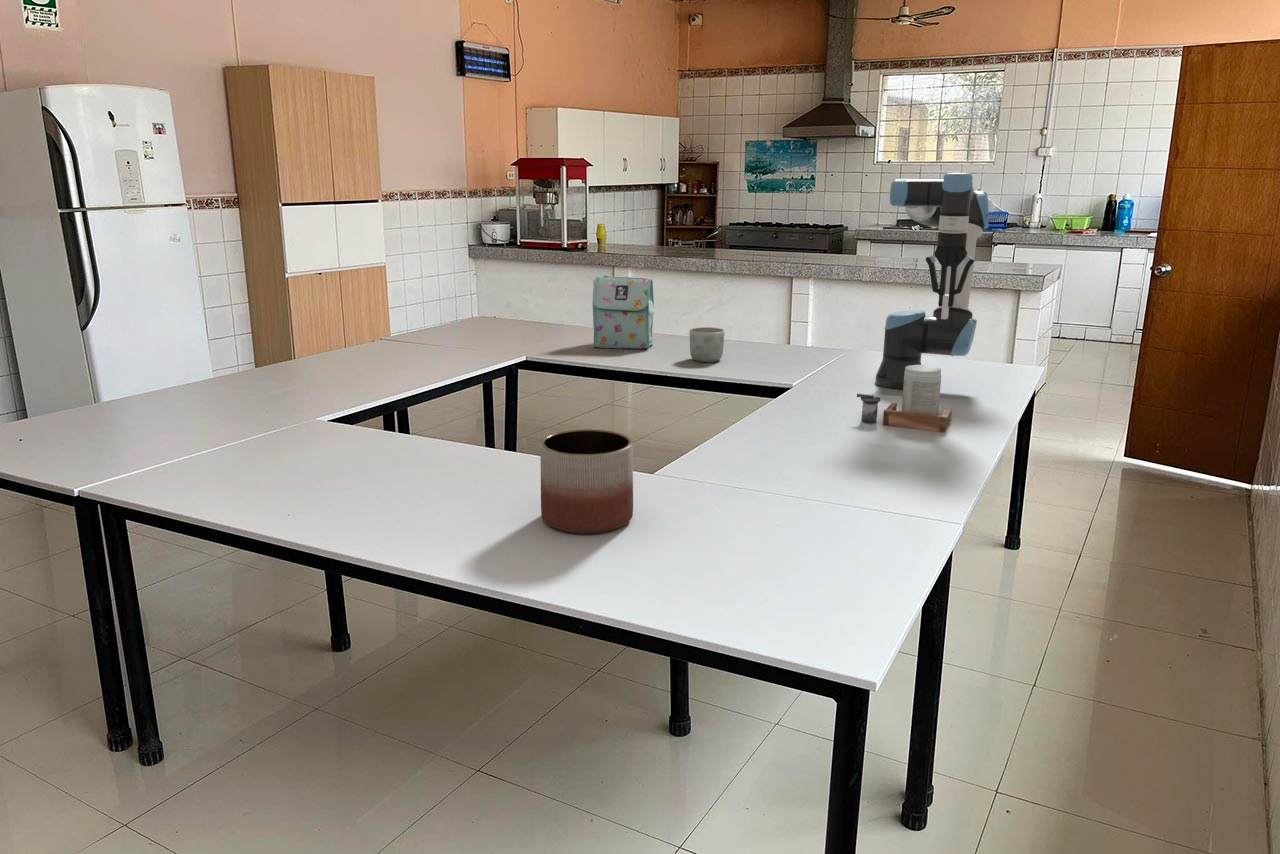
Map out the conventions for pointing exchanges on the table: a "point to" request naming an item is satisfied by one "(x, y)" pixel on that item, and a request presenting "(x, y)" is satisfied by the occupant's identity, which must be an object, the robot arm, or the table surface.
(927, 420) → the bay
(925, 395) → the supplement tub
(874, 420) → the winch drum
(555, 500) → the planter
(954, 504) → the table surface
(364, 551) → the table surface
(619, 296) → the lunch bag
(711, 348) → the planter
